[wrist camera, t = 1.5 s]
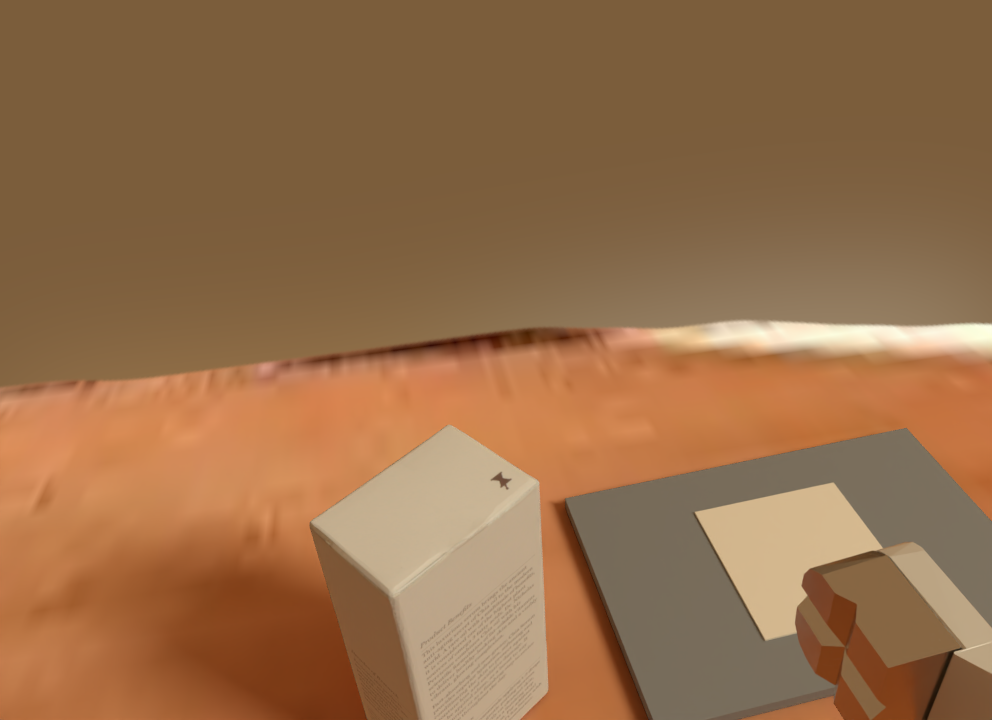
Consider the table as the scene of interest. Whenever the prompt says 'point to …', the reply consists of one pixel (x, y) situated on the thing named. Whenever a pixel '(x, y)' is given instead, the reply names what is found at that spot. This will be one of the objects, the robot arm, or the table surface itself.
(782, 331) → the table surface
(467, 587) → the skincare box
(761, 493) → the rubber mat
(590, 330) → the table surface
